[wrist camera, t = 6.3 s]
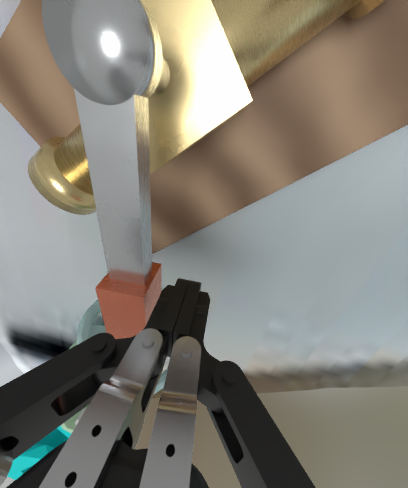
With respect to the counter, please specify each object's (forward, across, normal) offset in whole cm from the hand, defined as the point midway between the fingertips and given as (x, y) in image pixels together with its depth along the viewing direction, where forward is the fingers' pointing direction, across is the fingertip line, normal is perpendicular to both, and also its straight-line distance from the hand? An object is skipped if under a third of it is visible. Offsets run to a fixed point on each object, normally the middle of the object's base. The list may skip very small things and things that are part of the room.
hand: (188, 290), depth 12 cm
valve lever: (0, +3, -4) cm, 5 cm away
